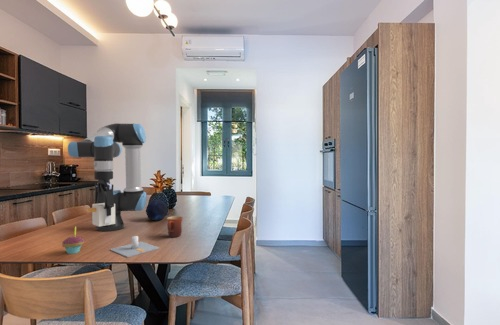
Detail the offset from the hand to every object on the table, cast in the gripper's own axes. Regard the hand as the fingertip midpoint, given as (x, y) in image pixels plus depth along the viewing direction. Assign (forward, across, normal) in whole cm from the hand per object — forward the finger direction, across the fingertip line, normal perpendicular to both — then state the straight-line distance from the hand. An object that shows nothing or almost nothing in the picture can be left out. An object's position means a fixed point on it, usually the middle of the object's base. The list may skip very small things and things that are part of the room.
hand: (104, 221), depth 128 cm
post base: (+15, +4, +12) cm, 20 cm away
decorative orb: (+15, -46, +55) cm, 74 cm away
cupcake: (+15, -14, -8) cm, 22 cm away
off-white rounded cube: (+1, 0, -2) cm, 2 cm away
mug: (+15, -1, +37) cm, 40 cm away
